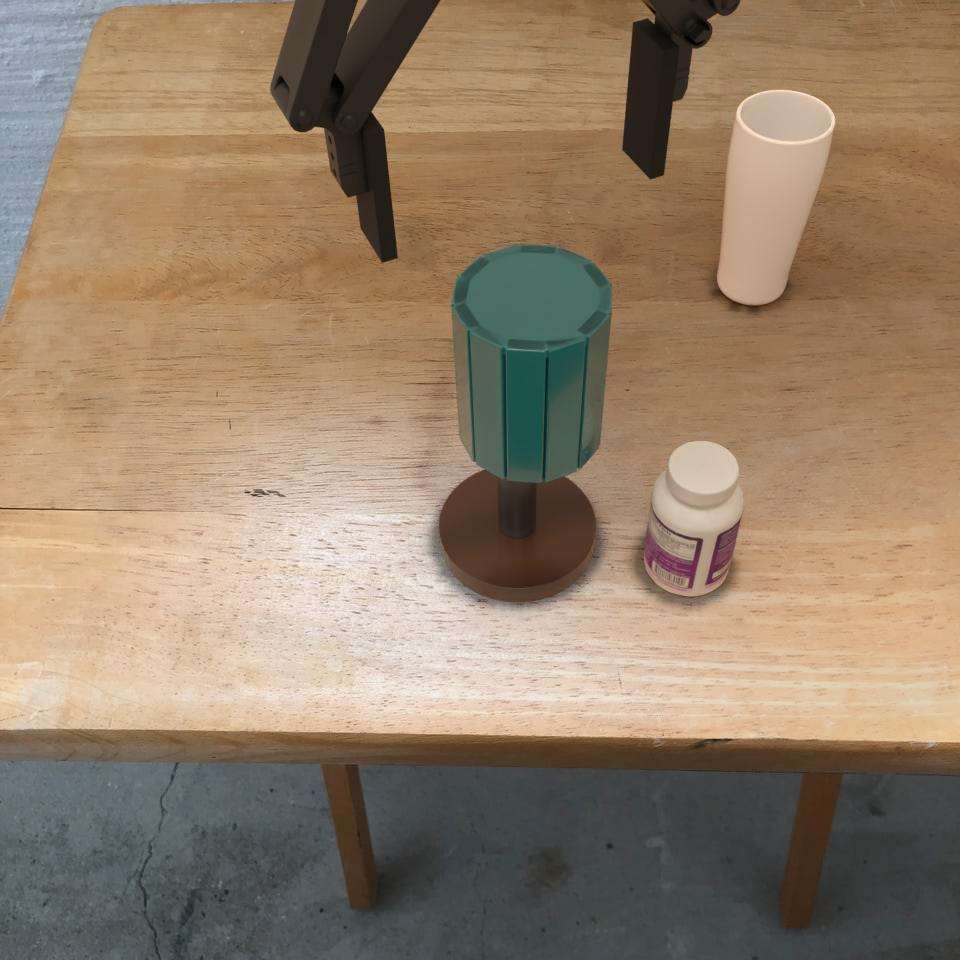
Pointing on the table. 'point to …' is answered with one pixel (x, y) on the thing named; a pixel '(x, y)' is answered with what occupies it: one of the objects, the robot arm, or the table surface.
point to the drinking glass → (770, 190)
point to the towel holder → (517, 536)
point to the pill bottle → (694, 519)
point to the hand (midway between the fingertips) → (515, 202)
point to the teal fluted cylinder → (531, 360)
